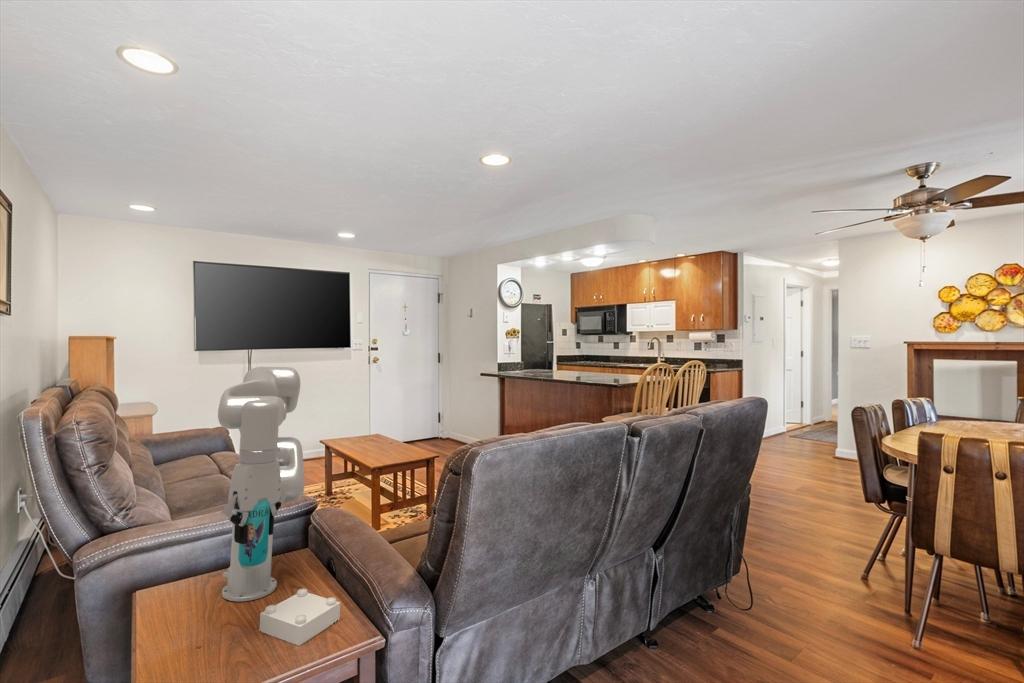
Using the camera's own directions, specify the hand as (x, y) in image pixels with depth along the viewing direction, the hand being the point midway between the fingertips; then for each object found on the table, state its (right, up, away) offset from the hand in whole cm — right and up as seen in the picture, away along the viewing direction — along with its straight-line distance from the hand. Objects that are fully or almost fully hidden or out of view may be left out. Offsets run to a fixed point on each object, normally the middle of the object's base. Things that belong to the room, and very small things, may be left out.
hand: (254, 537), depth 112 cm
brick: (+9, -22, +4) cm, 24 cm away
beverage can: (0, -6, 0) cm, 6 cm away
